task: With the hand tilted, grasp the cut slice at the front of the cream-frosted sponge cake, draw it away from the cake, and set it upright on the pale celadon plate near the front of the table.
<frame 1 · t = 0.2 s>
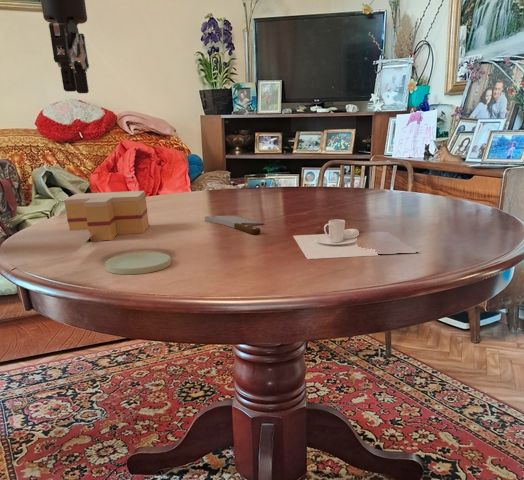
hand: (77, 92, 97), 28 cm above the table, tool pointing down, fingers open, 8 cm apart
cake: (111, 230, 118), on the table
teacup and saucer: (351, 244, 97), on the table
cake slice: (104, 238, 111), on the table
kitchen cleaver: (241, 226, 119), on the table
plate: (138, 265, 88), on the table
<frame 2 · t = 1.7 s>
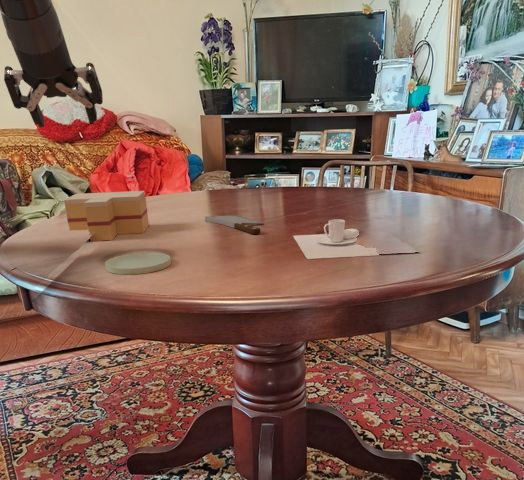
hand: (67, 122, 90), 23 cm above the table, tool tilted 45°, fingers open, 8 cm apart
nothing on the table moved.
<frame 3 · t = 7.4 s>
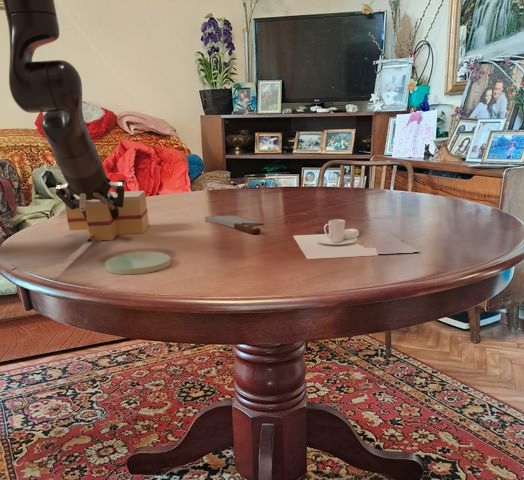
hand: (102, 216, 111), 4 cm above the table, tool tilted 45°, fingers closed on cake slice, 4 cm apart
cake slice: (104, 238, 111), on the table, touching gripper
everything else where it was.
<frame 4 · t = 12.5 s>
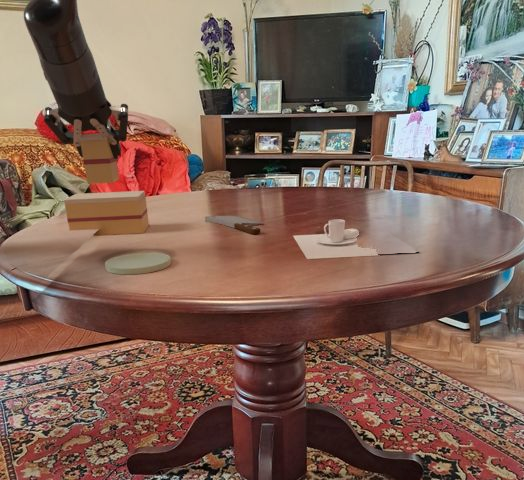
hand: (101, 155, 92), 17 cm above the table, tool tilted 45°, fingers closed on cake slice, 4 cm apart
cake slice: (103, 181, 92), point 13 cm above the table, touching gripper
everything else where it was.
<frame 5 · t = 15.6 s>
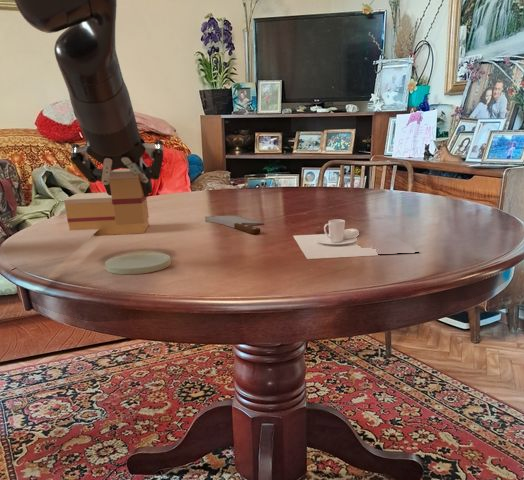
hand: (130, 192, 84), 12 cm above the table, tool tilted 45°, fingers closed on cake slice, 4 cm apart
cake slice: (132, 221, 84), point 8 cm above the table, touching gripper
everything else where it was.
when the fingers open (5 cm above the table, at t = 17.8 s): cake slice stays where it is, resting on plate.
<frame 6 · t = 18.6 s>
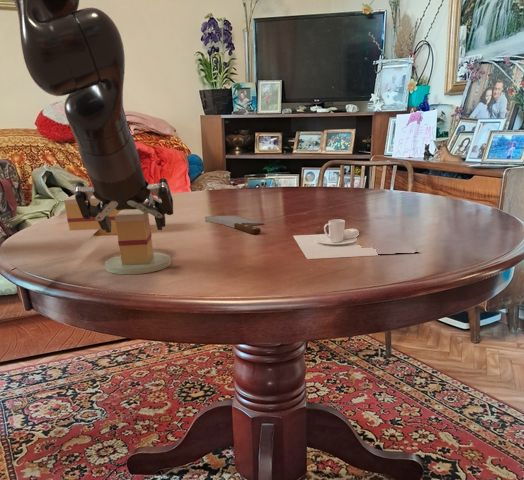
hand: (134, 227, 86), 6 cm above the table, tool tilted 45°, fingers open, 8 cm apart
cake slice: (138, 260, 87), point 1 cm above the table, touching plate
everything else where it was.
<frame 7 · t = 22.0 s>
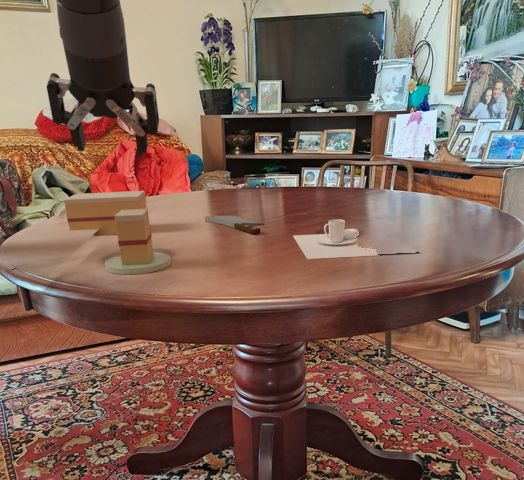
hand: (111, 150, 76), 19 cm above the table, tool tilted 35°, fingers open, 8 cm apart
nothing on the table moved.
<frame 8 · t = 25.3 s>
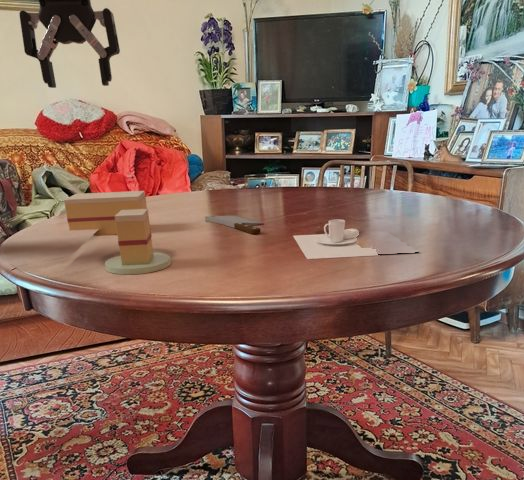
hand: (78, 86, 83), 28 cm above the table, tool pointing down, fingers open, 8 cm apart
nothing on the table moved.
at the end: cake slice inside the target area on the plate (0.1 cm from its centre), point 1.0 cm above the plate's base; cake slice tilted 0°; cake slice moved 28.3 cm from its start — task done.
